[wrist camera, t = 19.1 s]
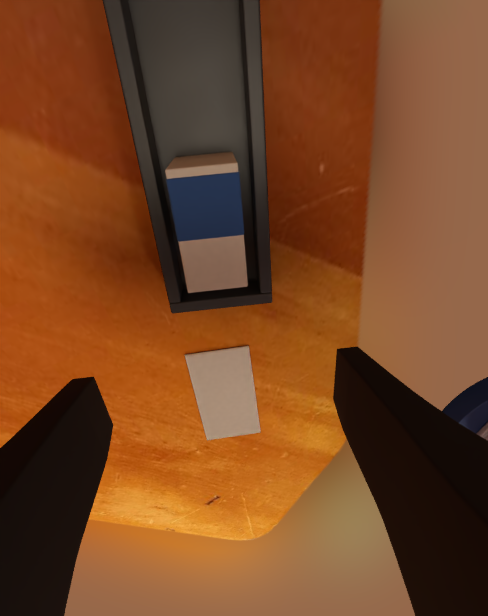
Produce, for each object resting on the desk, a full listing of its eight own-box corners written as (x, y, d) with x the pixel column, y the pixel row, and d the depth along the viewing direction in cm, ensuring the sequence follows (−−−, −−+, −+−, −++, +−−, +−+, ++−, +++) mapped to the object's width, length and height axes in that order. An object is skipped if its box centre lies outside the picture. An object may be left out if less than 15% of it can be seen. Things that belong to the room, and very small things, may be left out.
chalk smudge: (260, 431, 25) (260, 432, 25) (207, 439, 25) (207, 440, 25) (248, 345, 21) (248, 346, 21) (184, 354, 21) (184, 355, 21)
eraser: (242, 256, 18) (248, 287, 15) (191, 261, 18) (186, 293, 15) (233, 151, 15) (238, 162, 12) (173, 157, 15) (163, 169, 12)
